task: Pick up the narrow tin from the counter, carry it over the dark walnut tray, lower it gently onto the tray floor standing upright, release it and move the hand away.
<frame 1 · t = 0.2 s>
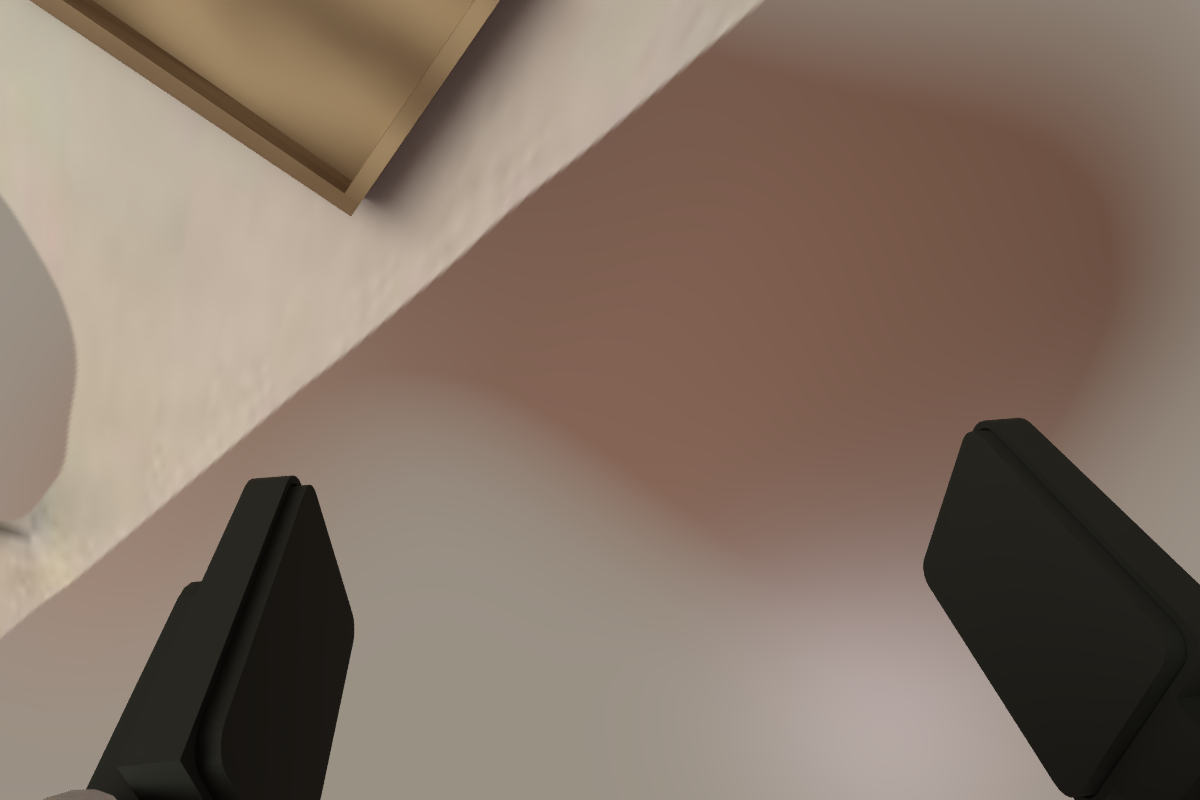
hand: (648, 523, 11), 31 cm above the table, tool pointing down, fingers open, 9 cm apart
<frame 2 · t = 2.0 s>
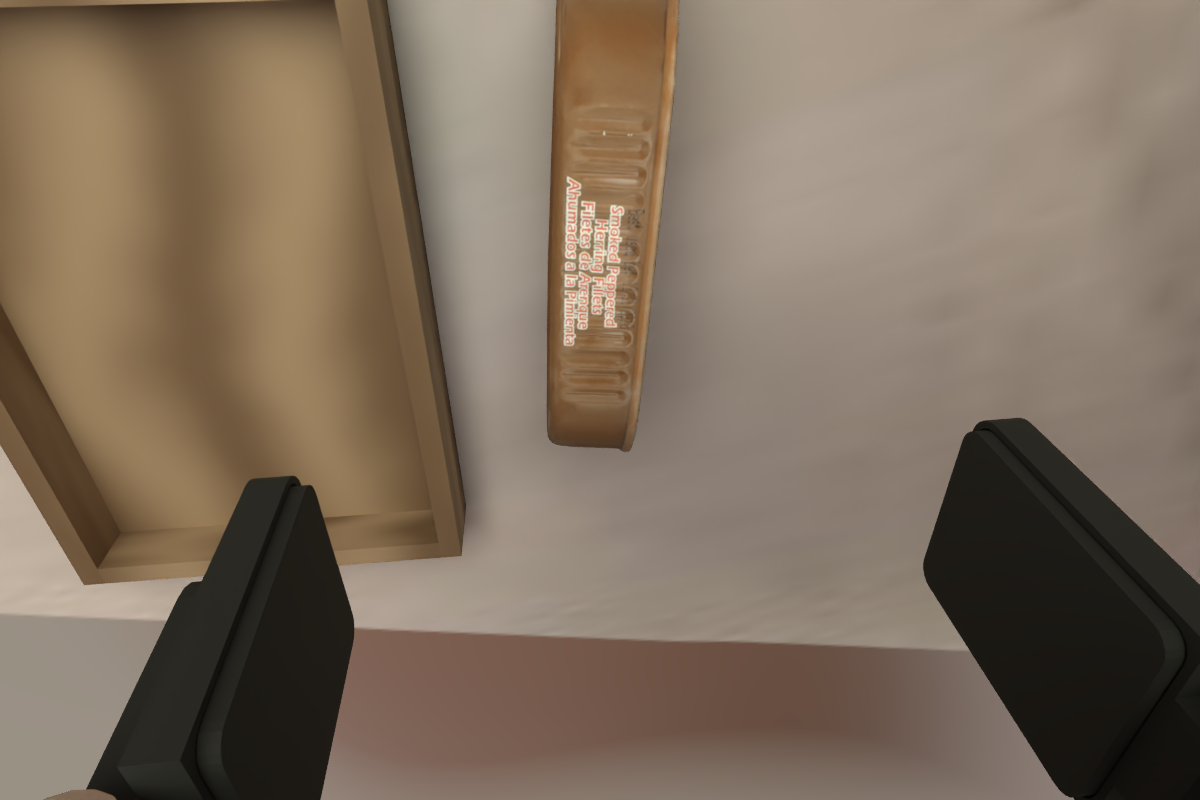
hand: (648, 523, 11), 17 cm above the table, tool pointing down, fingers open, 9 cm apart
walnut tray: (222, 302, 26), on the table
tin: (587, 169, 25), on the table
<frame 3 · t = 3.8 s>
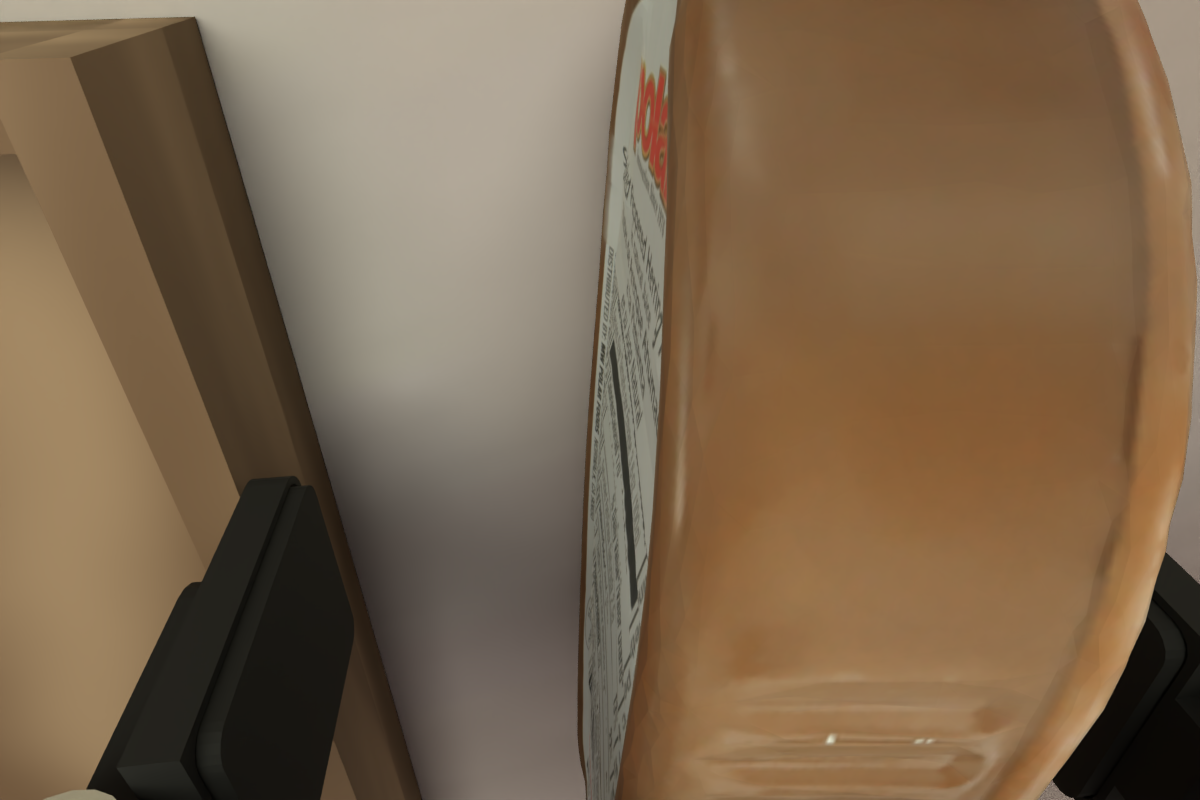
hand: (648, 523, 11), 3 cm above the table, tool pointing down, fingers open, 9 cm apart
tin: (644, 400, 13), on the table
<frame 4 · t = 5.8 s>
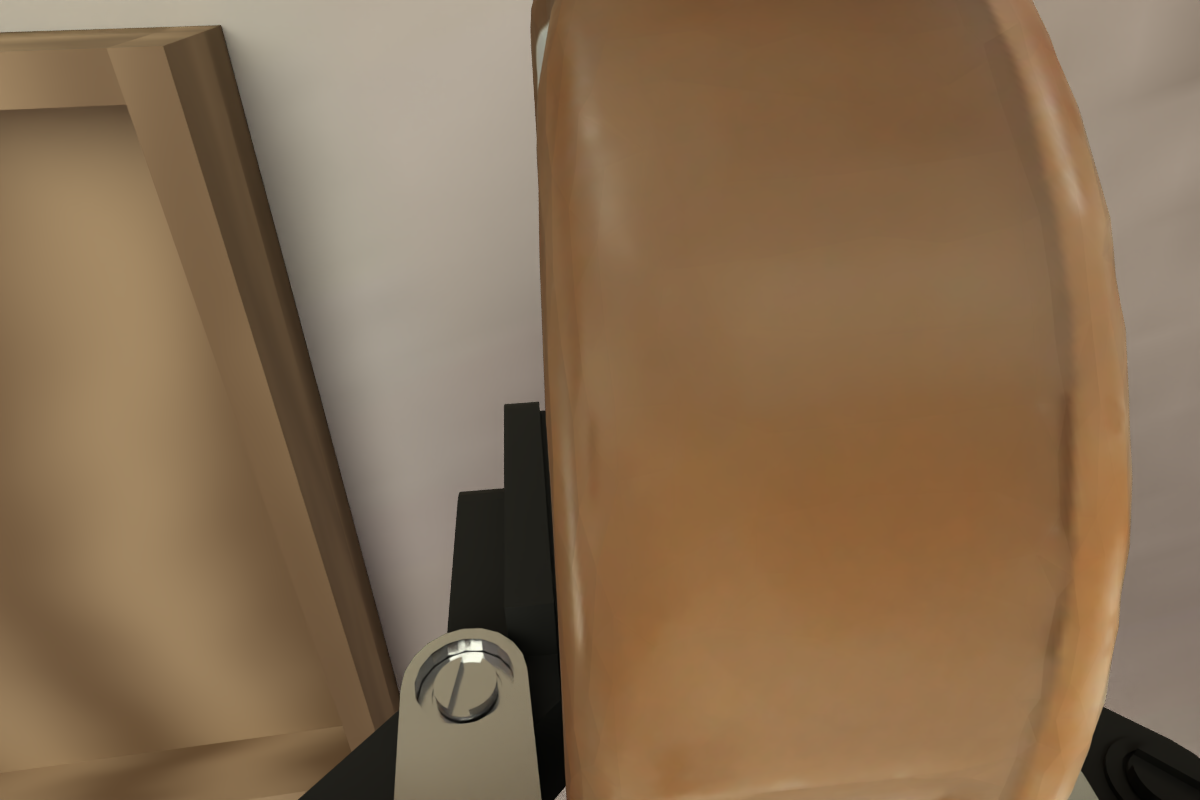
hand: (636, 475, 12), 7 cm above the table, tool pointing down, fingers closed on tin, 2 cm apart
walnut tray: (38, 494, 18), on the table
tin: (610, 425, 13), point 6 cm above the table, touching gripper
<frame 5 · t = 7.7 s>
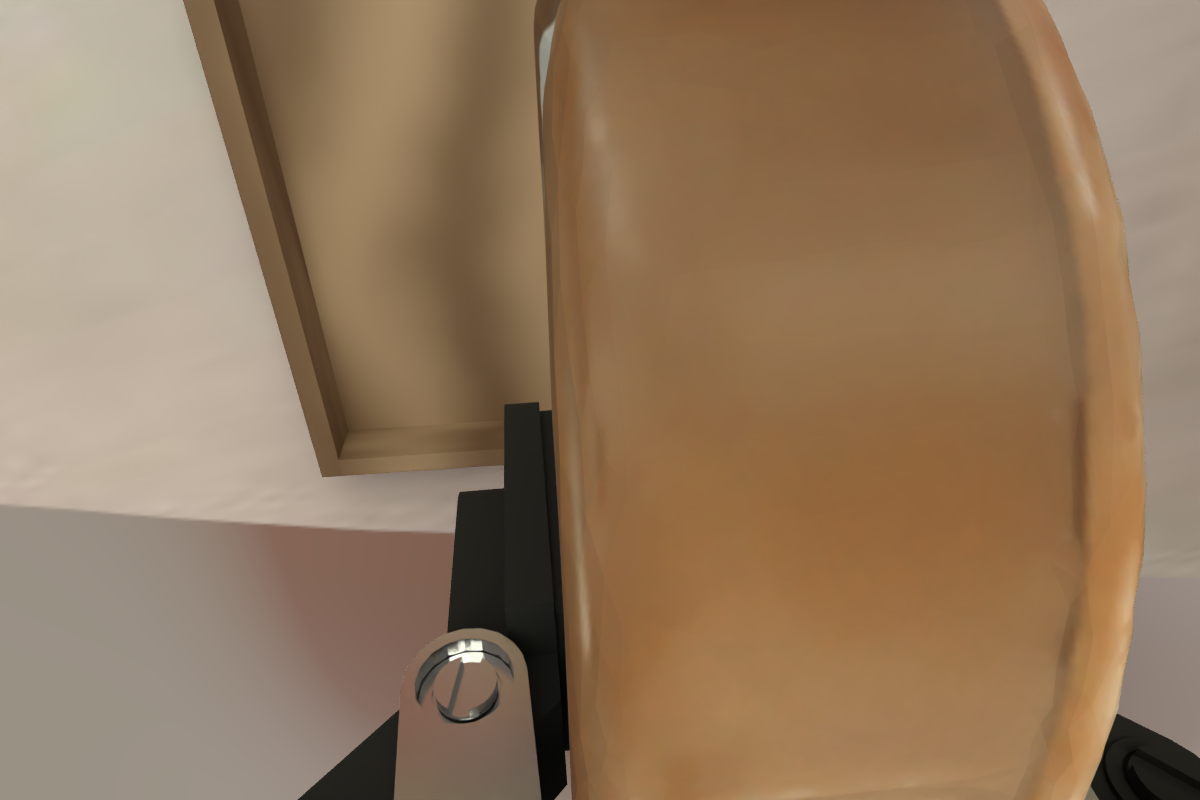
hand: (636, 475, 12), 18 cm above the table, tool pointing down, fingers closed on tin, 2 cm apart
walnut tray: (482, 191, 26), on the table
tin: (612, 426, 13), point 16 cm above the table, touching gripper
when the fingers open (3 cm above the table, at t = 11.0 s): tin stays where it is, resting on walnut tray.
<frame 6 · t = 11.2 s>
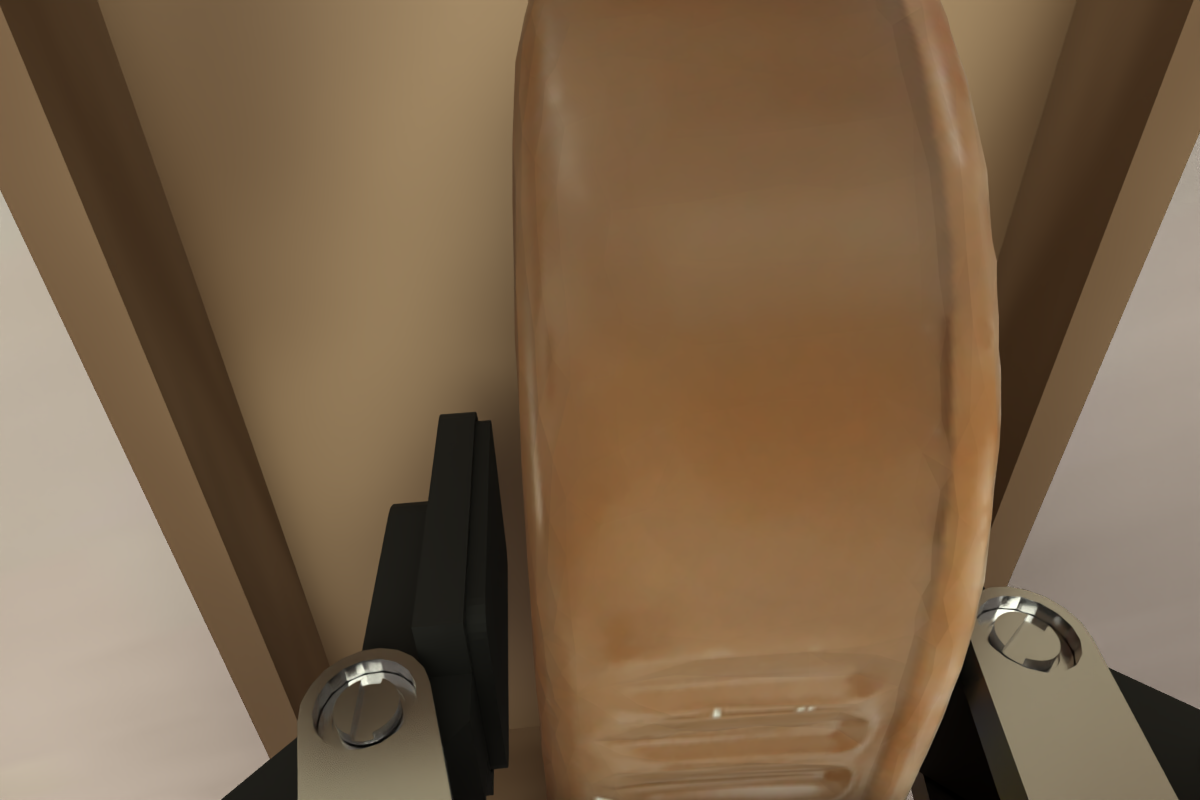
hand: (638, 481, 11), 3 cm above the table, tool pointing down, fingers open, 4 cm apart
walnut tray: (612, 378, 14), on the table
tin: (609, 400, 13), point 1 cm above the table, touching walnut tray
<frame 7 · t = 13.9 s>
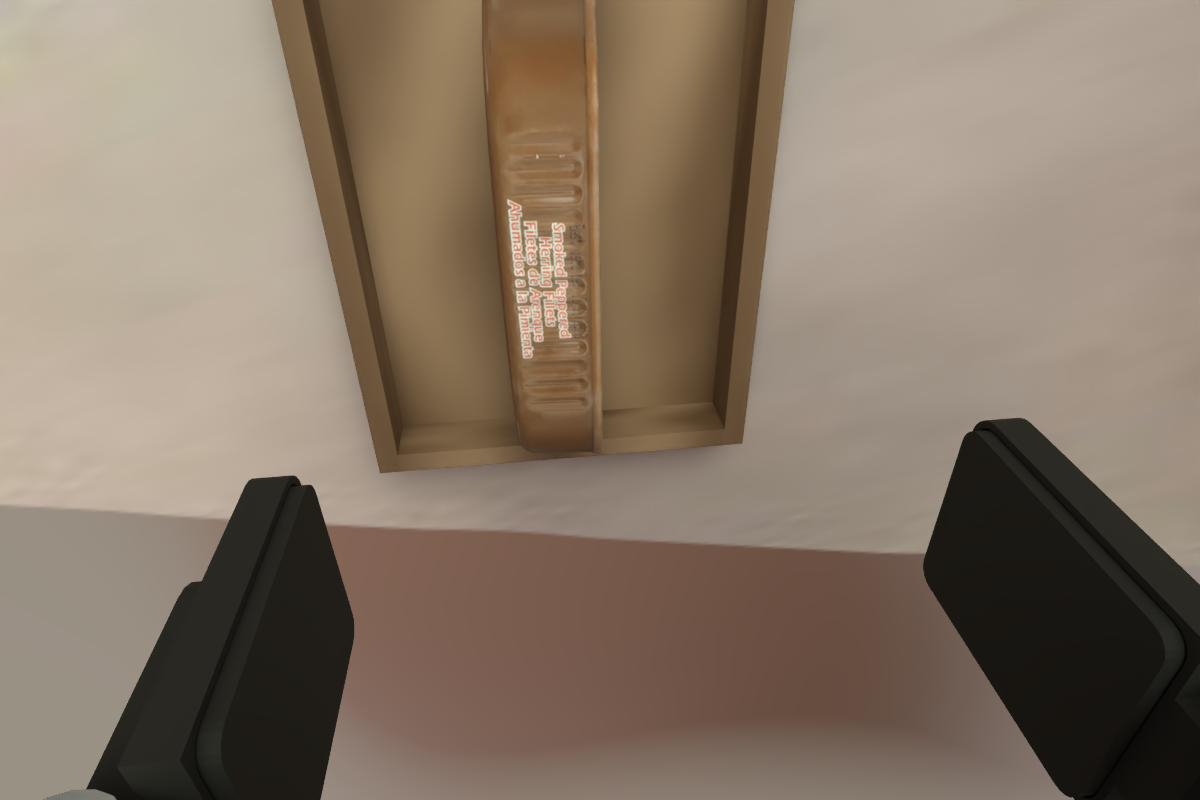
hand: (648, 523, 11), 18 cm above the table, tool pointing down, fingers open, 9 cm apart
walnut tray: (547, 179, 26), on the table
tin: (544, 185, 25), point 1 cm above the table, touching walnut tray
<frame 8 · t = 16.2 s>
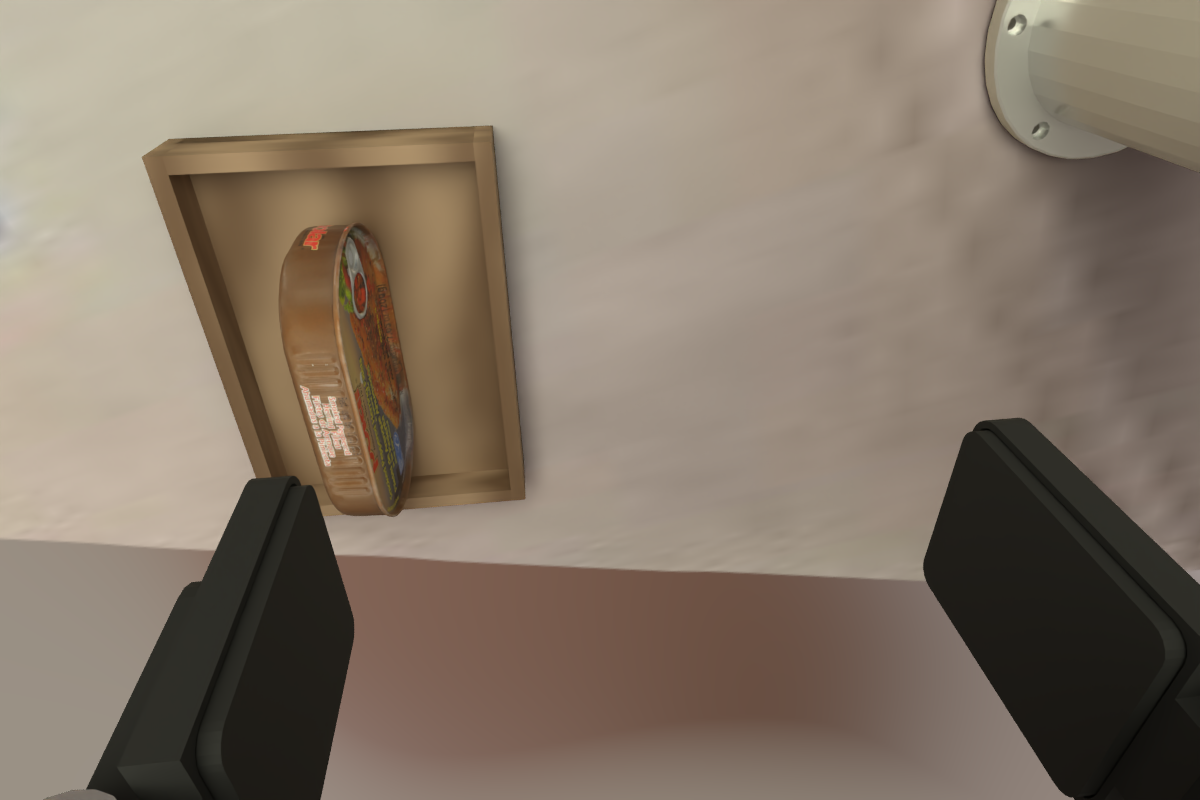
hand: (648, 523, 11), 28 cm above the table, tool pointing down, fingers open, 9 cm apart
walnut tray: (375, 329, 39), on the table
tin: (369, 336, 39), point 1 cm above the table, touching walnut tray
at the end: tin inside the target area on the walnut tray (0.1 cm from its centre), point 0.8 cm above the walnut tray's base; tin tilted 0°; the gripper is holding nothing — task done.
